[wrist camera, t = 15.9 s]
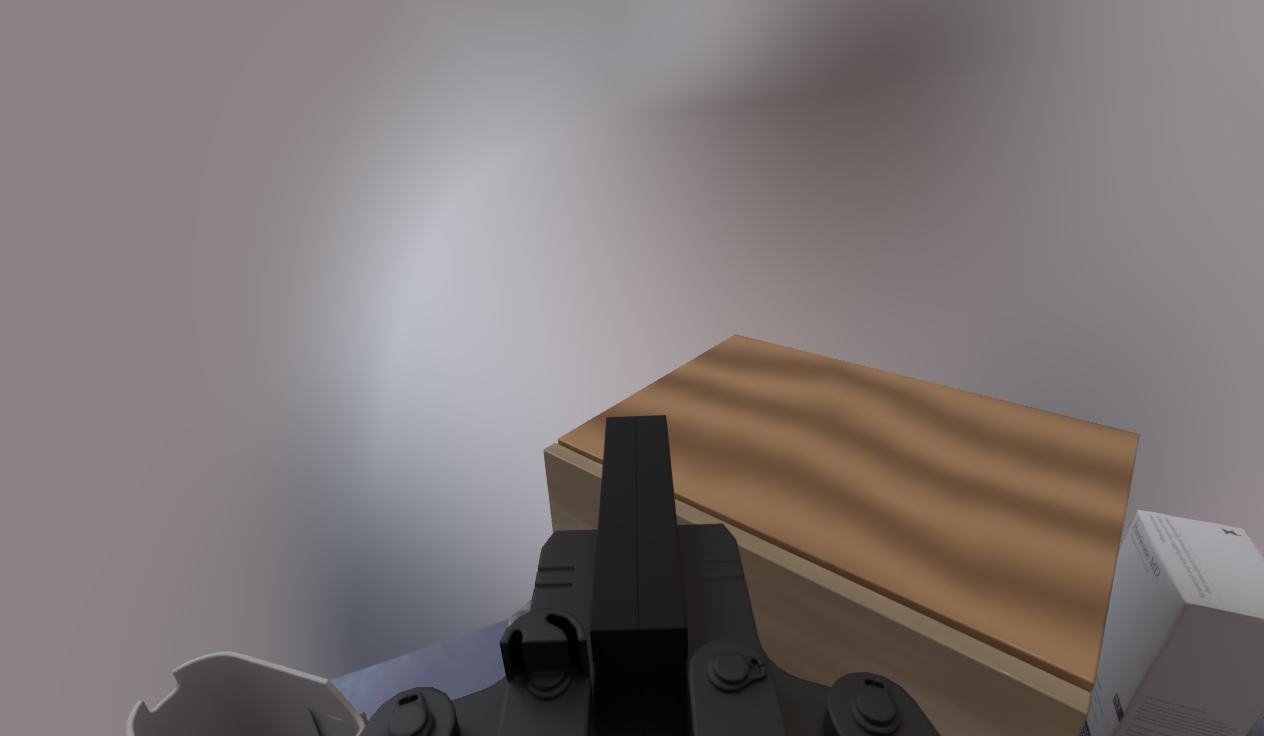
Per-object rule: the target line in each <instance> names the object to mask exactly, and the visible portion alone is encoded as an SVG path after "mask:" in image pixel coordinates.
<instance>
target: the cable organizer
mask: <svg viewBox="0 0 1264 736" xmlns="http://www.w3.org/2000/svg"><path fill="white" fill-rule="evenodd" d="M172 672H173V674H174V676H175V678H176V680H177V686H176V687H175V689H174V690H173V691H172V692H171V693H170V694H169V695H168V696H166V697H165V698H164V699H163V700H162V701H161V702H160V703H159V704H158V705H157V706H156V707H155V708H154V709H152V710H151V711H149V710H148V708H147V707H146V705H145V703H144V702H143V701H142V700H139V701H138V702H137V703H136V705H135V706H134V708H133V710H132V711H131V714H130V715H129V718H128V721H127V725H126V736H359V735H360V733H361V732H362V730H363V729H364V727H365V726H366V724H367V723H368V720H367V717H366V714H365V712H364V711H363V712H361V713H358V712H357V710H356V709H355V708H354V707H353V706H352V705H351V703H350V702H349V701H348V700H347V699H346V698H345V697H344V696H343V695H342V694H341V693H340V691H339V690H338V689H337V688H336V687H335V686H334V685H333V684H332V683H331V682H330V681H329V680H328V679H324V678H321V677H318V676H314V675H311V674H307V673H304V672H301V671H297V670H294V669H290V668H287V667H284V666H281V665H277V664H274V663H271V662H267V661H264V660H261V659H257V658H254V657H250V656H247V655H244V654H241V653H236V652H217V653H212V654H208V655H205V656H201V657H199V658H196V659H193V660H191V661H189V662H187V663H185V664H183V665H181V666H179V667H177V668H176V669H174V670H173V671H172Z"/></svg>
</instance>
